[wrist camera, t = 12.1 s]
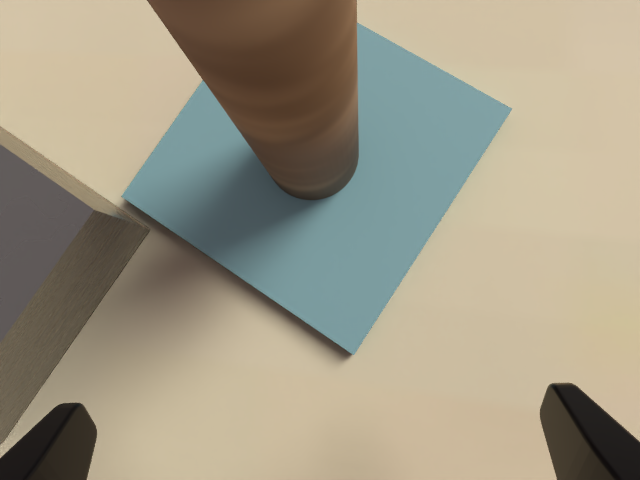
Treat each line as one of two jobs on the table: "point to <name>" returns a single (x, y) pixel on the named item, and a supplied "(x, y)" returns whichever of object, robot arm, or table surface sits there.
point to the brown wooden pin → (280, 81)
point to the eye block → (50, 267)
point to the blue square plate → (332, 212)
